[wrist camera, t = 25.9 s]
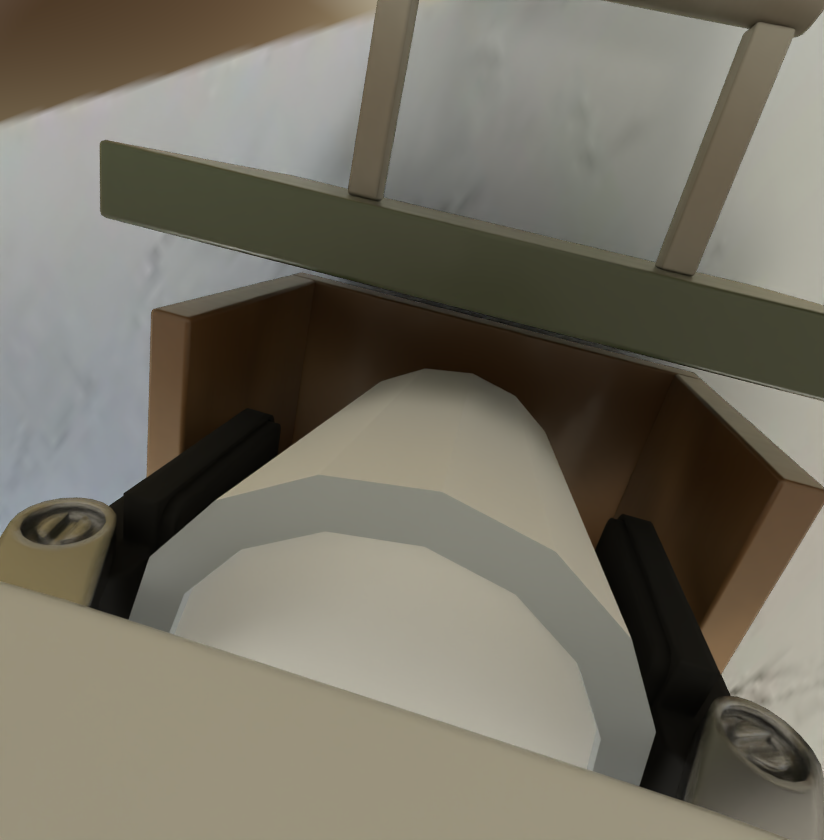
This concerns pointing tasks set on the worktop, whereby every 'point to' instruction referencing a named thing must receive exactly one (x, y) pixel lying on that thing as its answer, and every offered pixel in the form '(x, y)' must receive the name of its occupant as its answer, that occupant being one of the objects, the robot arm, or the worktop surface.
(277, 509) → the white candle jar
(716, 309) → the drawer
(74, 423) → the worktop surface
